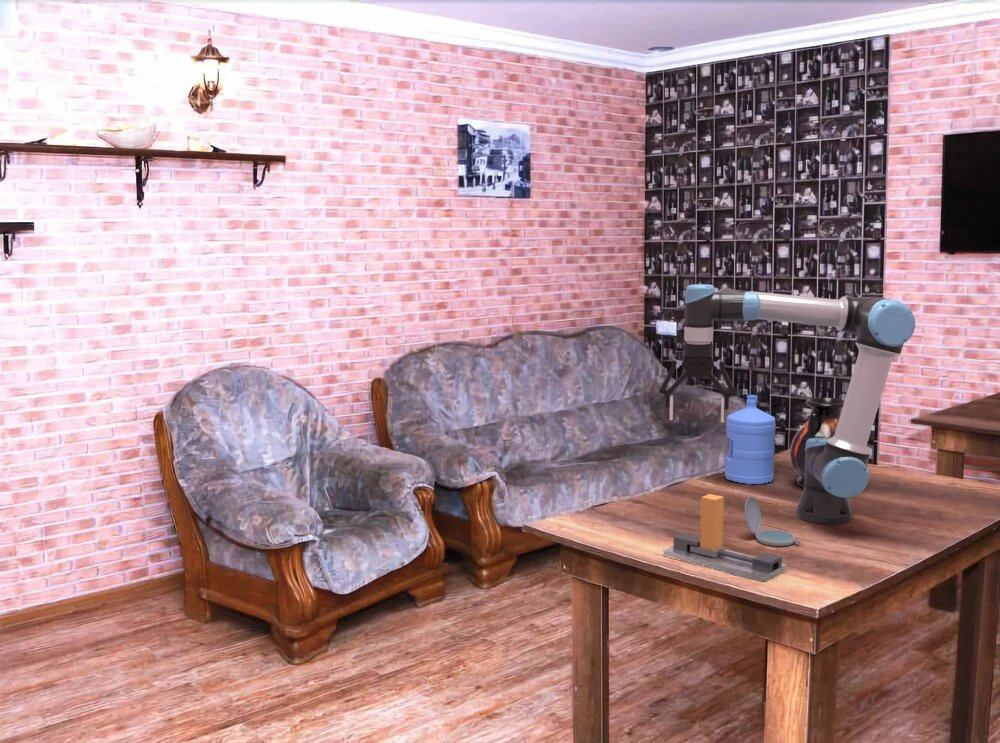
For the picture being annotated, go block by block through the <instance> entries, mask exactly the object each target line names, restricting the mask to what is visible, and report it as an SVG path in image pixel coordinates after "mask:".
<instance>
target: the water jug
mask: <svg viewBox="0 0 1000 743" xmlns="http://www.w3.org/2000/svg"><path fill="white" fill-rule="evenodd" d="M746 398H747V399H746V407H745V408H742V409H740V410H738V411H735V412H733V413H731V414H729V415H727V417H726V427H725V428H726V438H728V439H729V453H728V454H727V455H726V456H725V470H724V476H725V478H726V479H727V480H728V481H730V480H731V481H730V482H732V481H734V482H733V483H735V482H739V483H738V484H740V483H746V484H745V485H751V484H757V485H765V484H764V483H766V484H769V483H771V482H772V481H773V480H774V477H775V473H774V469H775V468H774V465H775V464H774V462H775V460H774V459H775V438H776V436H775V434H776V427H777V426H776V418H775V417H774V416H773V415H771V414H769V413H767V412H765V411H763V410H761V409H759V408H757V403H758V402H757V398H758V396H757V395H755V394H747V395H746ZM768 482H769V483H768Z"/></svg>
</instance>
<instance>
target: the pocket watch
mask: <svg viewBox="0 0 1000 743" xmlns="http://www.w3.org/2000/svg"><path fill="white" fill-rule="evenodd" d="M744 520H745V523H746V525H747V526H746V527H747V528H748V530H749V531H750V532H751V533H753V534H754V535H755V539H756V540H757V541H758V542H759V543H761V544H763V545H766V546H771V547H787V546H790V545H793V544H798V545H802V544H803V543H804V541H801V540H796V537H795V536H794V534H792V533H790V532H788V531H784V530H777V529H766V530H761V527H762V512H761V507H760V504H759V502H758V501H757V499H756V498H755V497H753V496H750V497H748V498H747V499H746V500H745V504H744Z"/></svg>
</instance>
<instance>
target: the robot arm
mask: <svg viewBox="0 0 1000 743" xmlns="http://www.w3.org/2000/svg"><path fill="white" fill-rule="evenodd" d="M755 320H762V321H763V320H765V321H774V322H784V323H795V324H802V325H811V326H812V325H813V326H814V325H815V326H822V327H823V326H824V327H832V328H836V330H837V331H839V332H844V333H845V332H847V333H851V334H855V335H857V337H856V341H855V346H856V347H857V349H858V354H857V358H856V360H855V364H854V368H853V371H852V375H851V378H850V382H849V385H848V388H847V392H846V395H845V399H844V400H845V401H844V405H843V408H842V411H841V415H840V418H839V422H838V425H837V428H836V432H835V435H834V436H833V437H832V438H810V439H808V440H807V441H806V448H805V472H804V488H803V490H802V493H801V495H800V498H799V501H798V504H797V506H796V514H795V515H796V517H798V518H799V519H801V520H803V521H806V522H809V523H815V524H821V525H822V524H823V525H842V524H846V523H849V522H851V521H852V520H853V510H852V507H851V504H850V499H849V498H853V497H854V498H855V496H857V495H859V494H861V493H863V491H864V490H865V489H866V488H867V486H868V483H869V482H870V472H869V469H868V467H867V466H868V464H869V460H870V456H871V451H870V449H869V447H868V441H869V438H870V437H871V436H870V435H871V431H872V429H873V426H874V422H875V418H876V415H877V412H878V410H879V406H880V402H881V400H882V396H883V392H884V390H885V389H884V388H885V386H886V382H887V379H888V376H889V373H890V369H891V366H892V362H893V360H894V359H896V358H897V357H899V356H901V354H902V350H903V347H904V345H905V343H906V342H908V341H909V340H910V339H911V337H912V336H913V334H914V333H915V329H916V319H915V315H914V313H913V311H912V310H911V308H910V307H909V306H908V305H906V304H905V303H903V302H901V301H900V300H896V299H893V298H885V297H882V296H881V297H880V296H865V297H863V296H862V297H861V296H859V297H854V296H853V297H852V296H842V297H840V298H838V299H836V298H835V299H834V298H824V297H813V296H805V295H804V296H803V295H793V294H783V293H782V294H781V293H773V292H765V291H764V292H763V291H754V290H751V291H750V290H740V289H733V288H725V287H724V288H722V289H719V290H718V291H715V286H714V285H713V284H698V283H697V284H689V285H688V286H687V287H686V289H685V298H684V332H683V333H684V334H683V335H684V336H683V338H684V341H685V343H684V345H683V360H678V359H676V358H674V359H673V360H672V361H671V366H670V367H671V368H670V370H669V371H668V373H667V375H666V377H665V379H664V380H663V383H662V384H661V386H660V388H659V391H658V392H659V394H662V395H664V396H665V408H669V421H673V419H674V395H673V394H672V393H674V391H675V390H676V389H678V387H679V386H680V385H681V383H683V381H684V380H686V379H687V377H688V376H689V377H691V378H705V377H707V378H708V379H709V380H710V381H711V382H712V383H713V385H714V386H715V387H716V389H717V390H718V391H719V392H720V393H721V395H722V396H721V402H720V403H721V404H720V407H721V408H720V422H721V423H724V422H725V420H724V418H725V410H729V406H730V404H729V402H730V398H731V397H735V396H736V394H737V392H736V390H735V387H734V385H733V383H732V381H731V379H730V377H729V375H728V373H727V371H726V369H725V361H724V360H723V359H721V360H719V361H714V360H713V351H714V350H713V343H712V342H713V341H714V321H745V322H747V321H755ZM680 366H682V368H683V369H684V371H683V372H682V373H681V375H680V376H679V377H678V378H677V379H676V380H675V382H674V383H673V384H672V385H671V386H670V387H669V388H668V389H667V387H668V385H669V382H670V381H671V379H672V377H673V375H674V373H675V371H676V370H677V369H679V368H680ZM714 367H716V369H717V370H720V371H719V372H720V374H721V376H722V378H723V380H724V383H725V385H726V386H727V388H728V391H727V390H726V388H725V387H724V385H723V384H721V382H720V381H719V380H718V378H717V377H716V376H715V375H714V373H713V372H712V370H713V368H714Z"/></svg>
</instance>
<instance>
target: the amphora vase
mask: <svg viewBox="0 0 1000 743" xmlns="http://www.w3.org/2000/svg"><path fill="white" fill-rule="evenodd" d="M844 401H845V399H840V398H832V397H812V398H808V399H806V401H805V404H806V405H807V406H809V407H810V408H811V412H810V414H809V417H808V420H807V421H806V422H805V423H804V424H803V425H802V426H801V427H800V428H799V429H797V431H796V433H795V435H794V437H793V439H792V441H791V442H790V443H791V444H790V447H789V448H790V449H789V460H790V464H791V466H792V468H793V470H794V471H795V472H796V474H797V475H799V477H797V479H796V484H797V485H798V486H799V487H802V488H803V489H804V472H805V448H806V441H807V440H808V439H810V438H832V437H833V436H834V435H835V432H836V428H837V425H838V422H839V418H840V415H841V411H842V408H843V405H844Z"/></svg>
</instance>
